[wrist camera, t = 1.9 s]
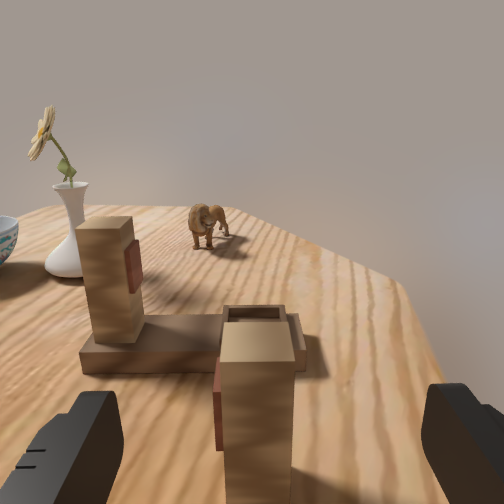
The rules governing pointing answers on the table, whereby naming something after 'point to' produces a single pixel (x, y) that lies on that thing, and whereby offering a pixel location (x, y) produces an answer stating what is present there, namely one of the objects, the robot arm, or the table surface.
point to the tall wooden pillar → (255, 411)
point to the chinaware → (7, 236)
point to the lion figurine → (206, 223)
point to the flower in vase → (66, 253)
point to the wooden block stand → (151, 326)
